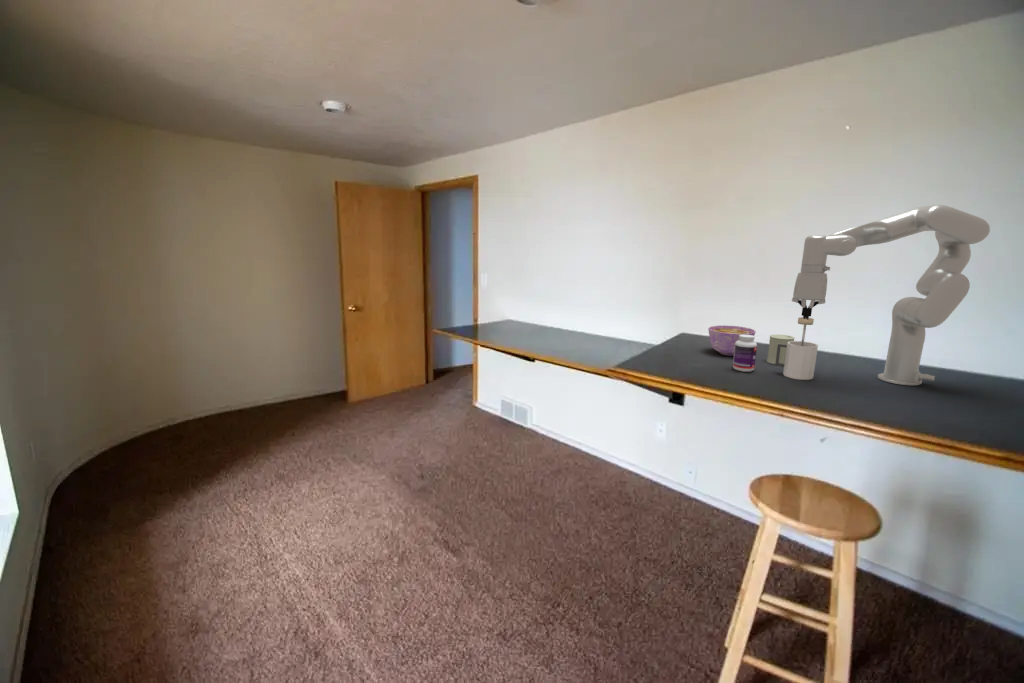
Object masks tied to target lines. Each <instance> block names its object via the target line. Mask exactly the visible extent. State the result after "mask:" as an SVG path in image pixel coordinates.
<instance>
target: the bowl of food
mask: <svg viewBox="0 0 1024 683" xmlns="http://www.w3.org/2000/svg"><path fill="white" fill-rule="evenodd" d="M707 330H708V335H709V336H708V337H709V341H710V342H709V343H710V345H711V347H712V349H713V350H715V351H717V352H718V353H719V354H721V355H724V356H731V357H732V356H733V357H734V350H735V343H736V341H738V340H740V339H739V335H752V336H754V337H755V335H756V332H757V331H756V330H755V329H753V328H750V327H744V326H740V325H739V326H737V325H713V326H708V328H707Z"/></svg>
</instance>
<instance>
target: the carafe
mask: <svg viewBox="0 0 1024 683" xmlns="http://www.w3.org/2000/svg"><path fill="white" fill-rule="evenodd" d="M801 342H802V340H799V341H798V340H794V341H790V342H788V343H787V344H780V343H778V347H777V355H776V363H775V364H774V366H775V367H782V368H783V373H782V375H783V376H784V377H786V378H790V379H794V380H800V381H810V380H813V379H814V375H815V367H816V360H817V354H818V346H819V344H817V343H814V342H810V341H804V346H801ZM781 347H786V348H787V349H786V357H785V364H783V363H779V358H780V350H781Z"/></svg>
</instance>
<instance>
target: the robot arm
mask: <svg viewBox="0 0 1024 683" xmlns="http://www.w3.org/2000/svg"><path fill="white" fill-rule="evenodd" d="M990 228H991V226H990V224H989V223H988V222H987V220H985V219H984V218H982V217H979V216H976V215H974V214H971V213H969V212H965V211H963V210H960V209H958V208H954V207H951V206H948V205H945V204H934V205H923V206H920V207H916V208H911V209H909V210H906V211H903V212H900V213H897V214H894V215H891V216H888V217H884V218H881V219H878V220H875V221H870V222H868V223H865V224H861V225H859V226H855V227H850V228H848V229H845V230H840V231H838V232H835V233H832V234H829V235H828V236H827V235H808V236H806V237H805V239H804V244H803V250H802V251H803V252H802V260H801V266H800V267H801V268H800V272H797V276H796V279H795V283H794V287H793V296H792V299H791V302H793V303H796V304H799V305H800V307H801V309H802V310H801V316H803V318H806V319H808V318H810V317H812V310H813V308H815V306H817V305H824V304H826V295H827V288H828V274H827V273H826V272H827V271H831V266H828V265H826V264H827V259H828V256H835V257H836V256H837V257H845V256H849V255H850V254H853V252H854V253H855V251H856V249H857V248H859V247H863V246H869V245H880V244H885V243H890V242H893V241H896V240H899V239H903V238H906V237H908V236H913V235H915V234H919V233H922V232H933V231H934V236H935V239H936V241H937V245H938V253H937V254H936V256H935V259H934V260H933V261H932V263H931V264H930V265H929V266H928V268H927V269H926V270H925V271H924V273H923V274H922V275H921V277H919V279H918V280H917V282H916V285H915V288H916V291H917V292H918V293H919V294H920V295H923V296H925V298H922V297H916V296H907V297H903V298H900V299H899V300H898V301H897V302H895V304H894V305H893V306H892V310H891V318H892V319H891V320H892V321H891V333H890V339H889V343H888V348H887V349H888V350H887V353H886V354H887V355H886V359H885V364H884V371H883V372H882V373H878V374H877V378H878V379H879V380H881V381H883V382H886V383H891V384H895V385H900V386H920V385H922V383H923V380H924V381H929V382H934V381H935V377H936V376H935V375H930V374H928V373H922V372H920V369H919V368H920V364H921V359H922V355H923V349H924V345H925V341H926V340H925V339H926V329H932V328H936V327H938V326H941V324H943V323H944V322H945V321H946V320H947V319H948V318H949V317H950V316H951V315H952V313H953V312H954V311H955V310H956V308H958V306H959V305H960V304H961V302H962V301H963V300H964V298H966V296H967V295H968V293H969V290H970V286H971V285H970V284H971V283H970V280H969V278H968V277H967V276H966V275H965V274H964V273H963V271H964V270H965V268H966V267H967V265H968V264H969V262H970V259H971V256H972V254H971V253H972V252H971V246H970V245H974V244H978V243H981V242H982V241H983V240H985V239H987V237H988V236H989V234H990V231H991V229H990ZM962 273H963V274H962ZM807 301H810V303H809V305H807Z"/></svg>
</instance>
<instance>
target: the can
mask: <svg viewBox="0 0 1024 683" xmlns="http://www.w3.org/2000/svg"><path fill="white" fill-rule="evenodd" d="M790 341H795V337H794V336H792V335H787V334H770V335H769V343H768V353H767V358H766V362H767V363H769V364H772V365H775V363H776V355H777V347H778V343H780V344H787V343H788V342H790ZM786 349H787V348H786V347H781V350H780V358H779V363H783V364H785V357H786Z"/></svg>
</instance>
